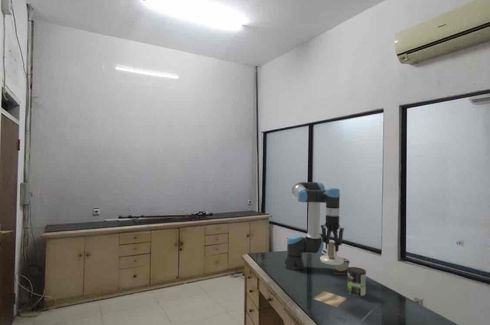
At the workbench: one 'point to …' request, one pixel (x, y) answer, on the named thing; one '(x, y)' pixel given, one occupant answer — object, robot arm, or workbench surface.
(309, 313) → the workbench surface
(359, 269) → the coffee can
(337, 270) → the food container
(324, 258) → the lid
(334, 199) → the robot arm
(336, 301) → the mat
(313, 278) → the workbench surface
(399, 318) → the workbench surface
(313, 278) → the workbench surface
